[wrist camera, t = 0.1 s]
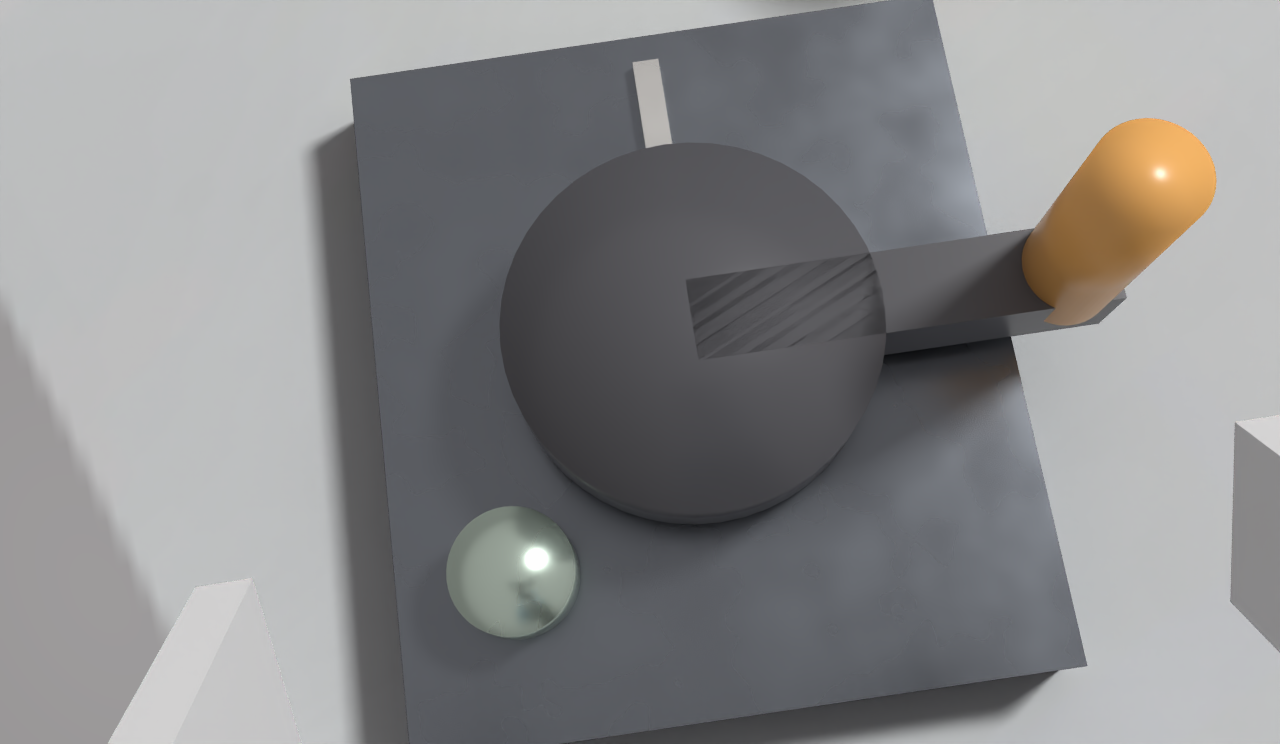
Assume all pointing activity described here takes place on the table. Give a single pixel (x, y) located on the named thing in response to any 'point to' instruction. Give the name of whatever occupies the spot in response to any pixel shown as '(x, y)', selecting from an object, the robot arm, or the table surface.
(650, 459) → the domed crank handle
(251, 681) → the robot arm
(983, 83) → the table surface
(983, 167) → the table surface
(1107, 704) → the table surface
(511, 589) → the base
